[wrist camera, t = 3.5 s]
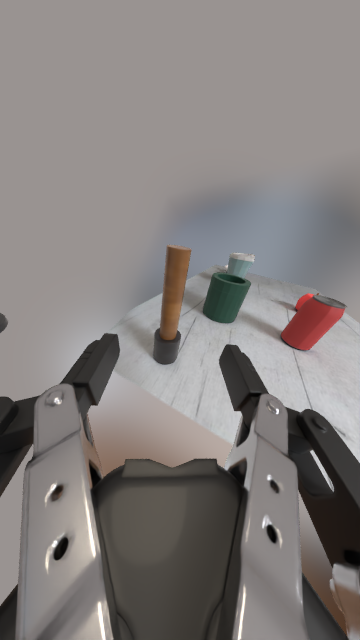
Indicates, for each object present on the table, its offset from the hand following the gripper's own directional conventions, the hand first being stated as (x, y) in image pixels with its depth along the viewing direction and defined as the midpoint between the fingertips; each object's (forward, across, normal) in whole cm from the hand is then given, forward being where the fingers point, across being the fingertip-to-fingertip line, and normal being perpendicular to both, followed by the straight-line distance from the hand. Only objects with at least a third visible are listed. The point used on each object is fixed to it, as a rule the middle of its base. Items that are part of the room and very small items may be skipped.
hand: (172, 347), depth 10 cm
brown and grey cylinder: (+10, 0, +12) cm, 16 cm away
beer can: (+17, -33, +13) cm, 39 cm away
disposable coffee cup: (+56, -29, +12) cm, 64 cm away
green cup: (+28, -15, +12) cm, 34 cm away
